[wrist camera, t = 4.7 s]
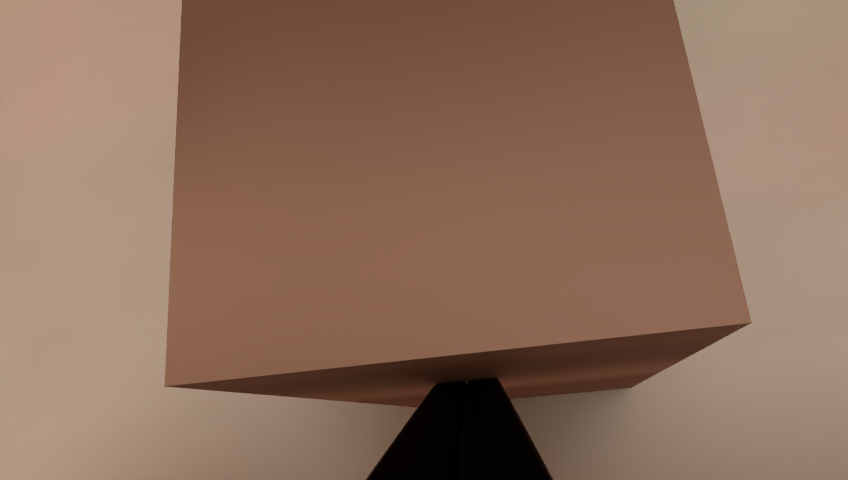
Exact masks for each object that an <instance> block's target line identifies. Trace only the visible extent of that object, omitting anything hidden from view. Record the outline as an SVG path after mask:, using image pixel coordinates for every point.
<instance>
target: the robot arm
mask: <svg viewBox="0 0 848 480" xmlns="http://www.w3.org/2000/svg"><path fill="white" fill-rule="evenodd" d="M366 480H553V478H552V477H551V475H550V473H549V471H548V469H547V467H546V466H545V464H544V462H543V460H542V458H541V456H540V454H539V453H538V451H537V449H536V447H535V445H534V443H533V441H532V440H531V438H530V436H529V434H528V432H527V430H526V428H525V427H524V425H523V423H522V421H521V419H520V417H519V415H518V414H517V412H516V410H515V408H514V406H513V404H512V402H511V401H510V399H509V397H508V395H507V393H506V391H505V389H504V388H503V386H502V384H501V382H500V380H499V379H498V378H496V377H494V378H484V379H474V380H469V381H468V383H467V384H466V382H465V381H454V382H444V383H437V384H435V385H434V386H433V387H432V389H431V390H430V391H429V393H428V394H427V396H426V397H425V398H424V400H423V401H422V403H421V404H420V405H419V407H418V408H417V409H416V411H415V412H414V414H413V415H412V416H411V418H410V419H409V421H408V422H407V423H406V425H405V426H404V428H403V429H402V430H401V432H400V433H399V434H398V436H397V437H396V439H395V440H394V441H393V443H392V444H391V446H390V447H389V448H388V450H387V451H386V452H385V454H384V455H383V457H382V458H381V459H380V461H379V462H378V464H377V465H376V466H375V468H374V469H373V470H372V472H371V473H370V475H369V476H368V477H367V479H366Z"/></svg>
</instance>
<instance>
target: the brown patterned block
mask: <svg viewBox="0 0 848 480" xmlns="http://www.w3.org/2000/svg"><path fill="white" fill-rule="evenodd" d="M750 323H751V319H750V315H749V311H748V307H747V303H746V299H745V295H744V291H743V286H742V282H741V278H740V274H739V270H738V266H737V262H736V258H735V253H734V249H733V245H732V241H731V237H730V233H729V229H728V225H727V220H726V216H725V212H724V208H723V204H722V200H721V196H720V192H719V187H718V183H717V179H716V175H715V171H714V167H713V163H712V159H711V154H710V150H709V146H708V142H707V138H706V134H705V130H704V126H703V121H702V117H701V113H700V109H699V105H698V101H697V97H696V93H695V88H694V84H693V80H692V76H691V72H690V68H689V64H688V60H687V55H686V51H685V47H684V43H683V39H682V35H681V31H680V27H679V22H678V18H677V14H676V10H675V6H674V2H673V0H182V15H181V37H180V59H179V82H178V104H177V126H176V149H175V171H174V193H173V216H172V238H171V260H170V283H169V305H168V327H167V350H166V372H165V387H178V388H190V389H202V390H214V391H226V392H239V393H251V394H263V395H275V396H287V397H300V398H312V399H324V400H336V401H348V402H361V403H373V404H385V405H397V406H410V407H419V405H420V404H421V403H422V401H423V400H424V398H425V397H426V396H427V394H428V393H429V391H430V390H431V389H432V387H433V386H434V385H435V384H437V383H444V382H454V381H465V382H466V384H467V383H468V381H469V380H474V379H484V378H494V377H496V378H498V379H499V380H500V382H501V384H502V386H503V388H504V389H505V391H506V393H507V395H508V397H509V399H513V398H524V397H535V396H546V395H556V394H567V393H578V392H589V391H599V390H610V389H621V388H631V387H633V386H635V385H637V384H638V383H640V382H642V381H644V380H646V379H648V378H650V377H651V376H653V375H655V374H657V373H659V372H661V371H663V370H664V369H666V368H668V367H670V366H672V365H674V364H676V363H678V362H679V361H681V360H683V359H685V358H687V357H689V356H691V355H692V354H694V353H696V352H698V351H700V350H702V349H704V348H705V347H707V346H709V345H711V344H713V343H715V342H717V341H718V340H720V339H722V338H724V337H726V336H728V335H730V334H731V333H733V332H735V331H737V330H739V329H741V328H743V327H744V326H746V325H748V324H750Z"/></svg>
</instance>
